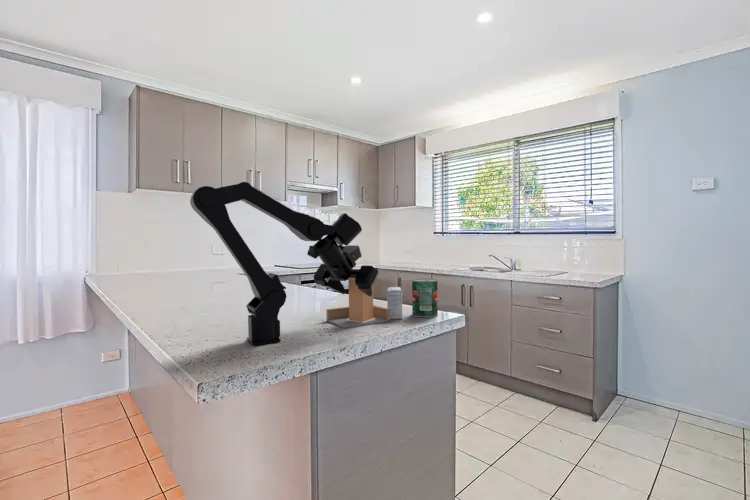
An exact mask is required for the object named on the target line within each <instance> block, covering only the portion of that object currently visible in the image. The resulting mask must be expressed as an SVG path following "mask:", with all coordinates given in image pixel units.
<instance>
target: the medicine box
mask: <svg viewBox="0 0 750 500" xmlns="http://www.w3.org/2000/svg"><path fill="white" fill-rule="evenodd" d="M386 298H387V299H386V301H387V304H386V305H387V307H386V308H387V309H390V320H402V319H403V291H402V288H401V286H390V287H387V288H386Z"/></svg>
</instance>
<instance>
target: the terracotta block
mask: <svg viewBox="0 0 750 500" xmlns="http://www.w3.org/2000/svg"><path fill="white" fill-rule="evenodd" d="M371 287H372V295H371V297H370V296H368V295H366V294H365V293H364V292H362V291H361V290H360V289H358V286H357V285H356V284H355V278H348V307H349V320H354V321H362V322H364V321H367V320H370V319H373V305H374V283H373V284H372V286H371Z"/></svg>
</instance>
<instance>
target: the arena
mask: <svg viewBox="0 0 750 500" xmlns="http://www.w3.org/2000/svg"><path fill="white" fill-rule="evenodd" d="M325 311H326V322H328V323H331V324H333V325H335V326H338V327H339V328H342V329H348V328H354V327H355V328H356V327H360V326H361V327H362V326H368V325H375V324H381V323H389V322H391V319H390V309H387V307H383V306H379V305H375V304H373V319H370V320H367V321H364V322H362V321H354V320H349V306H342V307H333V308H326V310H325Z"/></svg>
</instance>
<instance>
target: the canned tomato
mask: <svg viewBox="0 0 750 500" xmlns="http://www.w3.org/2000/svg"><path fill="white" fill-rule="evenodd" d="M438 282H439V281H438V279H436V278H413V279H411V293H412V298H411V307H412V309H411V311H412V312H411V313H412V314H411V315H412V317H416V318H434V317H435V318H436V317H437V316H438V315H439V314H438V311H439V310H438V306H439V303H438V302H439V299H438V297H439V296H438V294H439V293H438Z"/></svg>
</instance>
